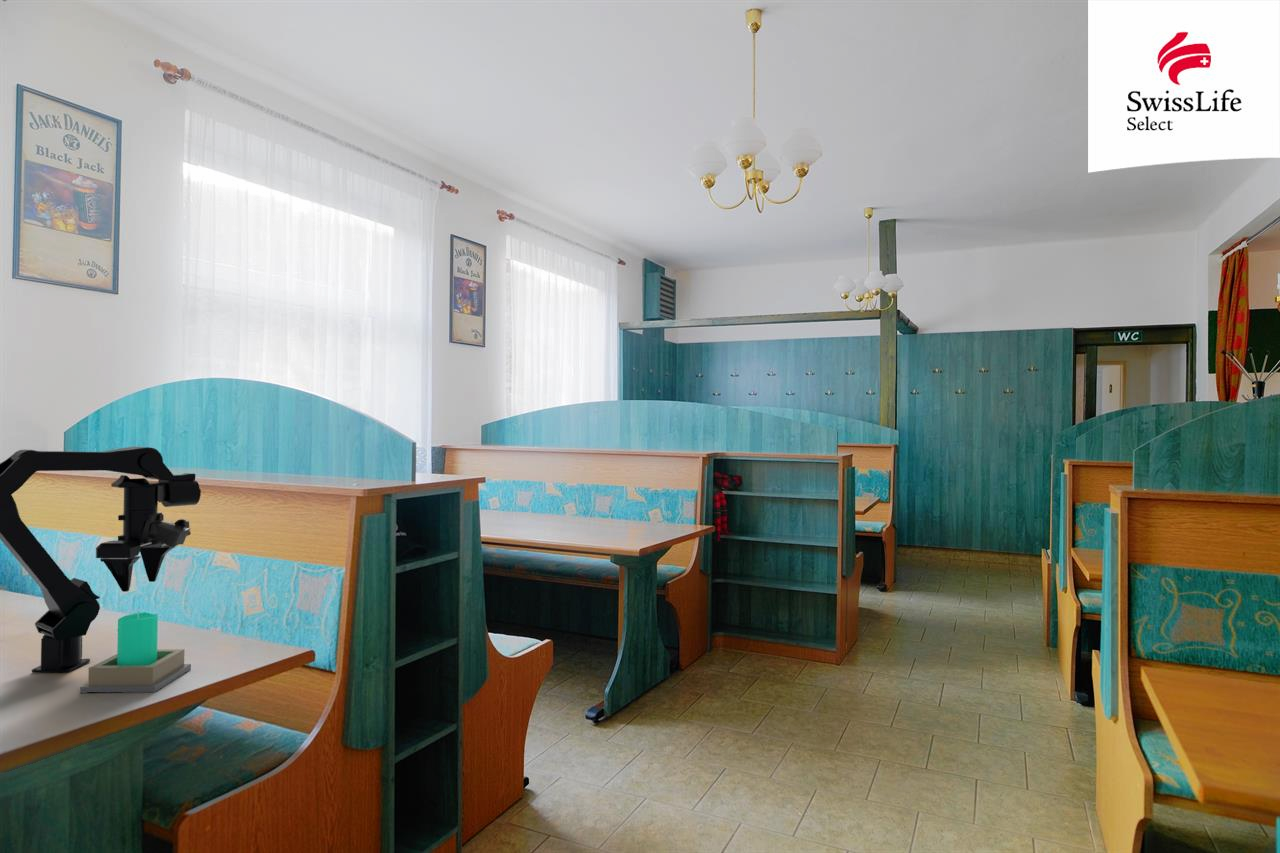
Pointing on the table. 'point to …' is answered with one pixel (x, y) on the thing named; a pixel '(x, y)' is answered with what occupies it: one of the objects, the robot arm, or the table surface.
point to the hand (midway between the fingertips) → (139, 586)
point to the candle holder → (136, 674)
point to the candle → (137, 639)
